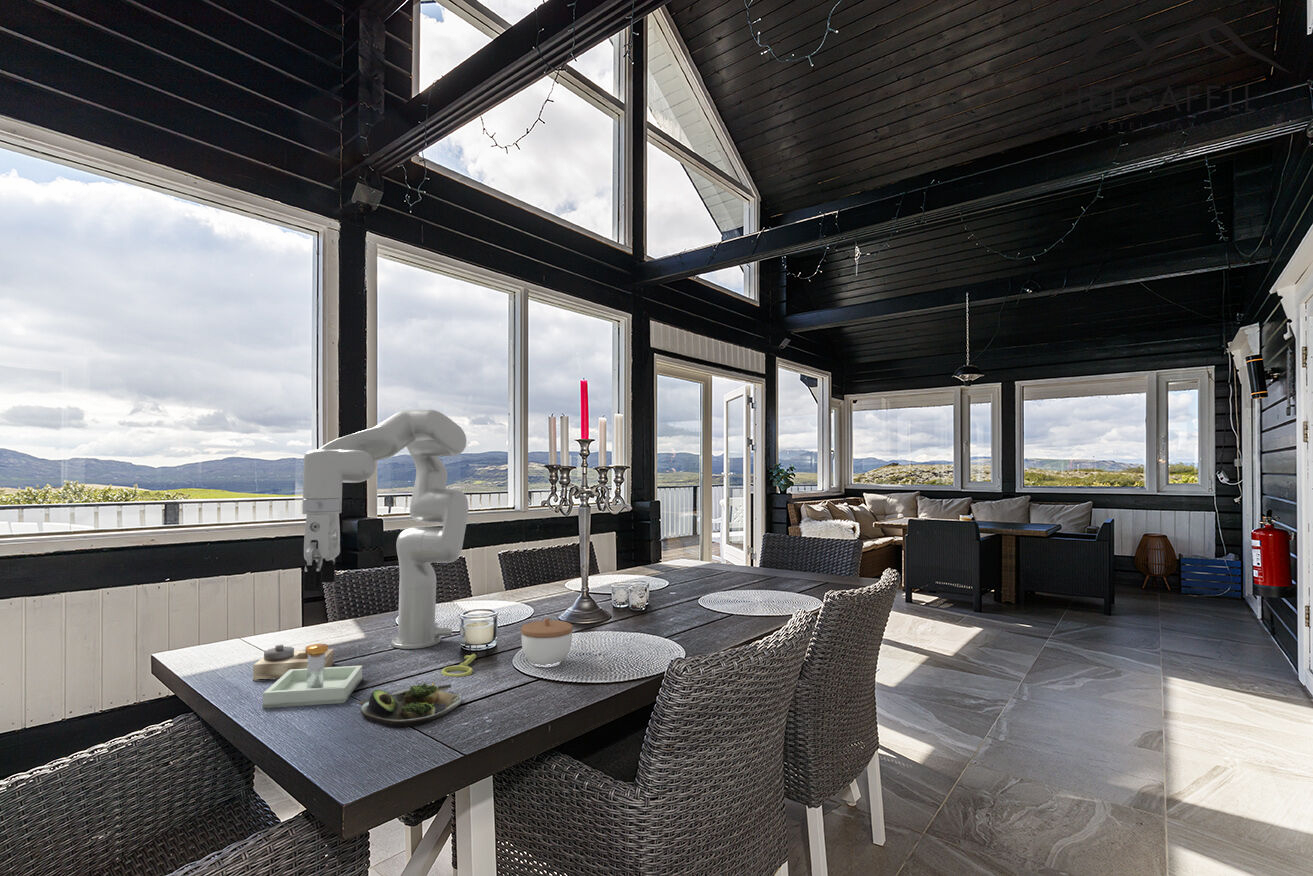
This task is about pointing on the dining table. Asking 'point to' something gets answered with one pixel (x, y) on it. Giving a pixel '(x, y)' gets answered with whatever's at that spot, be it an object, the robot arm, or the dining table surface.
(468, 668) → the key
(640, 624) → the dining table surface
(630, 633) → the dining table surface
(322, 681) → the white jar gold lid
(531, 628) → the lidded bowl
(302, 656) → the wooden holder
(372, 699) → the salad plate
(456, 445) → the robot arm
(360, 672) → the tray
